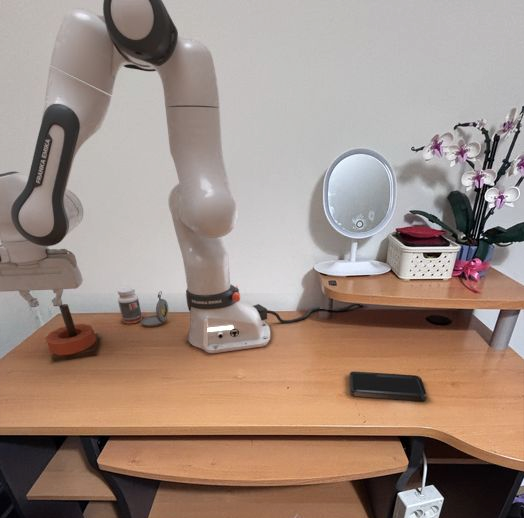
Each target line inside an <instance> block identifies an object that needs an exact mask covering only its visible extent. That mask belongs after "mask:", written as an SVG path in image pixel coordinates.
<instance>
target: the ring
mask: <svg viewBox="0 0 524 518" xmlns="http://www.w3.org/2000/svg"><path fill="white" fill-rule="evenodd" d="M74 326H75V329H76V332H77V336H75V337H71V338H69V335H68V332H67V329H66V326H65V325H64V326H62V327H59V328H57V329H55V330H53V331H51V332H49V333H48V334H47V335H46V336H45V338H44V339H45V341H46V344H47V346H48V349H49V351H50V354H52V355H53V354H56V355H68V354H74V353H77V352H80V351H84V350H85V349H87V348H89V347H91V346H92V345H93V344H94V343H95V341H96V336H95V330H94V327H92V325H90V324H85V323H78V324H77V323H76V324H74Z"/></svg>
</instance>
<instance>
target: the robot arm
mask: <svg viewBox="0 0 524 518" xmlns="http://www.w3.org/2000/svg"><path fill="white" fill-rule="evenodd" d="M166 7H167V6H166V5H165V4H164V2H163V0H103V4H102V15H101V14H96V13H95V12H93V11H91V10H88V9H85V8H79V7H77V8H71V9H69V10H68V11H66V13H64V16H63V18H62V21H61V23H60V25H59V28H58V32H57V35H56V38H55V41H54V44H53V49H52V53H51V58H50V63H49V64H50V66H49V69H48V75H47V82H46V90H45V98H44V106H43V110H42V116H41V117H42V118H41V123H40V128H39V131H38V135H37V140H36V144H35V146H34V147H35V148H34V151H33V152H34V153H33V156H32V161H31V165H30V168H29V169H30V170H29V174H28V176H26V175H25V174H24V173H22V172H19V171H8V172H4V173H0V292H1V293H3V292H18V293H19V295H20V296H21V297H22V298H23V299H24V300H25V301H26V302H27V303H28V306H29V308H38V306H40V302H39V300H38V298H36V297H34V296H33V295H31V293H30V292H31V291H51V290H52V292H53V294H55V297H54V298H53V299H51V303H52V306H53V307H59V306H61V305H63V300H62V296H63V293H64V290H76V289H78V288H79V287H80V286H81V285H82V284H83V282H84V278H83V276H82V273H81V271H80V268H79V265H78V262H77V258H76V255H75V254H74V253H73V252H72V251H70V250H68V249H66V248H60V249H56V248H51V249H50V247H52V246H56V245H58V244H60V243H61V242H62V241H63V240H64V239H65V238H66V236H67V235H68V234H70V233H71V232H72V231H73V230H75V228H77V227H78V226H79V225H80V224H81V222H82V220H83V218H84V207H83V205H82V202H81V200H80V199H79V197H78V196H77V195H76V194H75V193H73V191H72V190H70V189H68V188H67V187H68V185H69V179H70V176H71V172H72V168H73V163H74V160H75V158H76V156H77V154H78V152H79V150H80V149H81V147H82V146H83V145H84V144H85V143H86V142H87V141H88V140H89V139H90V138H91V137H92V136H93V135H95V134H97V132H98V131H99V130H100V129H101V128H102V126H103V124H104V122H105V120H106V116H107V114H108V112H109V108H110V105H111V101H112V95H113V91H114V86H115V83H116V79H117V76H118V73H119V72H120V70H121V68H123V67H124V68H125V69H130V70H131V69H132V70H137V71H142V72H157V74H158V76H159V78H160V81H161V84H162V89H163V98H164V108H165V117H166V118H165V119H166V126H167V137H168V143H169V144H168V145H169V153H170V156H171V158H172V161H173V163H174V167H175V170H176V175H177V179H178V183H177V184H176V185H174V186H173V187H172V188H171V190H170V191H169V194H168V196H167V197H168V198H167V205H168V209H169V211H170V214H171V218H172V223H173V227H174V231H175V234H176V239H177V242H178V246H179V250H180V253H181V256H182V257H181V258H182V261H183V268H184V275H185V282H186V290H185V299H186V305H187V308H188V311H189V330H188V335H187V341H188V342H189V344H191V345H192V346H193V347H195V348H199V349H202V350H203V351H204V352H206V353H207V354H217V353H218V354H219V353H224V352H225V353H226V352H232V351H233V352H234V351H240V350H246V349H247V350H248V349H254V348H261V347H265V346H267V344H269V342H270V340H271V337H272V336H271V328H270V326H269V324H268V323H267V322H265V320H268V314H270V315H273V316H275V317H276V319H277V321H278V322H280V323H283V324H292V323H296V322H299V321H301V320H304V319H306V318H307V317H309V316H310V314H311V313H312V312H314V311H321V310H320V307H321V306H315V307H312V308H310V309H309V310H308V311H307V312H306V313H305V314H303V315H302V316H299V317H296V318H293V319H287V320H286V319H282V318H281V316H280V315H279V313H277V312H276V311H273V310H270V309H268V308H267V307H265V306H263V305H262V304H260V303H258V304H254V305H251V304H250V303H248V302H247V301H245V300H243V299H241V294H240V289H239V287H238V285H237V284H236V285H233V284H232V283H231V274H230V273H231V272H230V261H229V254H228V252H227V250H226V248H225V245H224V241H223V238H224V237H226V236H227V235H229V234H230V233H231V232H232V231H233V230H234V228H235V227H236V225H237V222H238V218H239V210H238V206H237V203H236V200H235V199H234V196H233V195H232V191H231V187H230V183H229V178H228V173H227V169H226V164H225V159H224V154H223V153H224V152H223V145H222V127H221V126H222V125H221V109H220V108H221V107H220V93H219V87H218V79H217V74H216V68H215V64H214V58H213V55H212V53H211V51H210V49H209V48H208V47H207V46H206V45H205V44H204V43H202V42H200V41H198V40H197V39H193V38H184V37H180V36H179V32H178V29H177V26H176V25H175V23H174V21H173V19H172V17H171V15H170V13H169V11H168V10H167V8H166ZM222 237H223V238H222ZM360 304H361V305H360ZM360 304H354V303H351V304H349V305H347V306H345V307H340V308H334V307H331V308H332V309H331V311H330V312H344V311H347V310H349V309H351V308H353V307H359V308H365V306H364V305H363V304H362V303H360Z"/></svg>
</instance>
